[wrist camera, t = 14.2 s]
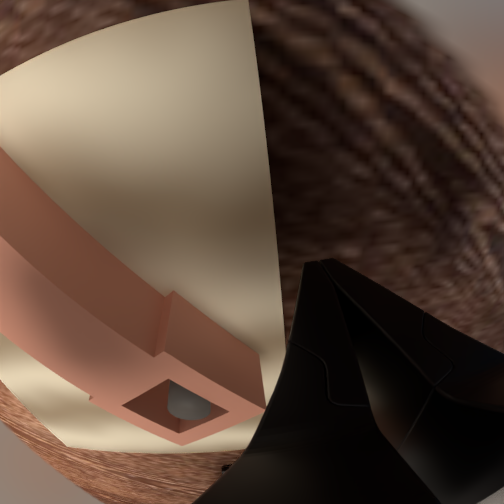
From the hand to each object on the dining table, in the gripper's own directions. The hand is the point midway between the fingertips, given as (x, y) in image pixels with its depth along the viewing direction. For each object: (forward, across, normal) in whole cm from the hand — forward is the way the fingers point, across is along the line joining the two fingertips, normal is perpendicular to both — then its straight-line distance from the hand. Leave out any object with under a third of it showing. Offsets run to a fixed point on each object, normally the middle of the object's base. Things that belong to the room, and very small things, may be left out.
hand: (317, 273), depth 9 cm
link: (+3, +8, 0) cm, 9 cm away
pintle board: (+4, +10, +4) cm, 11 cm away
